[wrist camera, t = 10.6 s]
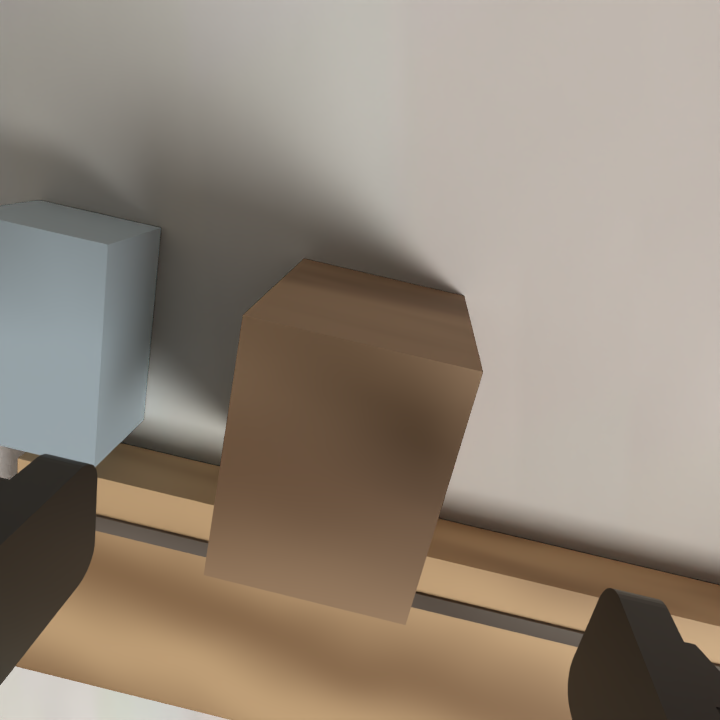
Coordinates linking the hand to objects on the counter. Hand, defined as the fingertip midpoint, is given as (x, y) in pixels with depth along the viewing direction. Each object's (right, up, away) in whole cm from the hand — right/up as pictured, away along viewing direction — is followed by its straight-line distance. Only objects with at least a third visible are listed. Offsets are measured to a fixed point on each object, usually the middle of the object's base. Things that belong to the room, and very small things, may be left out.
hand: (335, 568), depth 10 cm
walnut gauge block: (0, +3, +8) cm, 9 cm away
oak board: (+3, -5, +11) cm, 12 cm away
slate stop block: (-7, +5, +8) cm, 12 cm away
